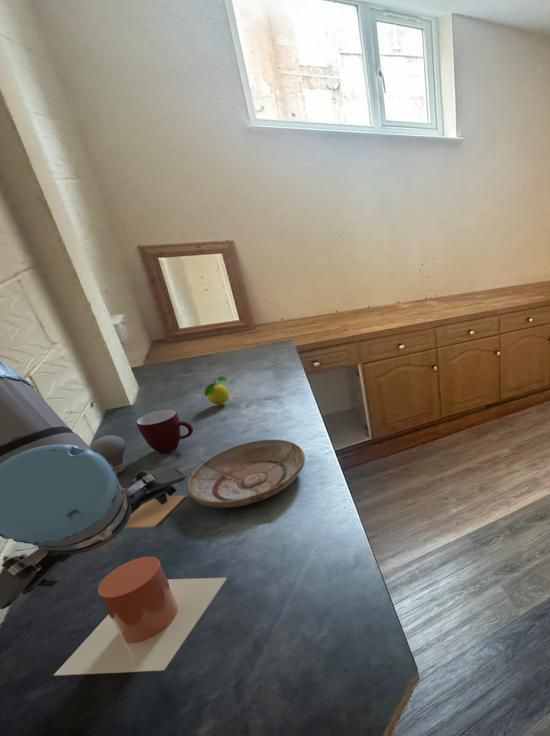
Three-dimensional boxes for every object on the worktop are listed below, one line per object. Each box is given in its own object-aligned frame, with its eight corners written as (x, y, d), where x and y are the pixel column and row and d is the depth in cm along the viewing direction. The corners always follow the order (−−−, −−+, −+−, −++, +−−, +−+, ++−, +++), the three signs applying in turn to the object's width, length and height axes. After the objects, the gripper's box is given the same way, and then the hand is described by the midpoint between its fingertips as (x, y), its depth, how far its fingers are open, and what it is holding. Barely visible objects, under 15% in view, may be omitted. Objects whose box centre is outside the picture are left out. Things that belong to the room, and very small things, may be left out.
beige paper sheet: (55, 679, 56) (52, 675, 56) (140, 583, 70) (139, 580, 70) (165, 673, 57) (164, 670, 57) (228, 580, 71) (227, 577, 71)
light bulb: (110, 466, 99) (96, 432, 96) (139, 462, 101) (126, 429, 98) (95, 481, 94) (79, 446, 91) (126, 477, 96) (112, 442, 92)
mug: (199, 435, 113) (190, 404, 109) (195, 450, 107) (185, 417, 103) (152, 445, 108) (140, 413, 104) (144, 461, 102) (132, 428, 98)
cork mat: (90, 536, 79) (89, 534, 79) (135, 498, 90) (135, 496, 89) (148, 535, 80) (147, 533, 80) (186, 497, 90) (186, 495, 90)
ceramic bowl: (196, 538, 80) (189, 518, 78) (190, 477, 96) (184, 460, 95) (318, 489, 94) (315, 472, 92) (294, 443, 110) (291, 428, 109)
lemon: (232, 398, 134) (225, 371, 130) (234, 405, 129) (227, 377, 126) (207, 404, 130) (199, 376, 126) (209, 411, 125) (201, 382, 122)
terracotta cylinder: (107, 644, 60) (83, 598, 56) (144, 600, 67) (125, 556, 63) (156, 642, 60) (135, 596, 57) (188, 599, 67) (171, 555, 63)
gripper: (-62, 659, 35) (12, 640, 49) (219, 455, 52) (212, 486, 67) (-135, 602, 34) (-38, 600, 49) (176, 415, 52) (178, 455, 66)
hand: (107, 534), depth 58 cm, fingers open, 13 cm apart
